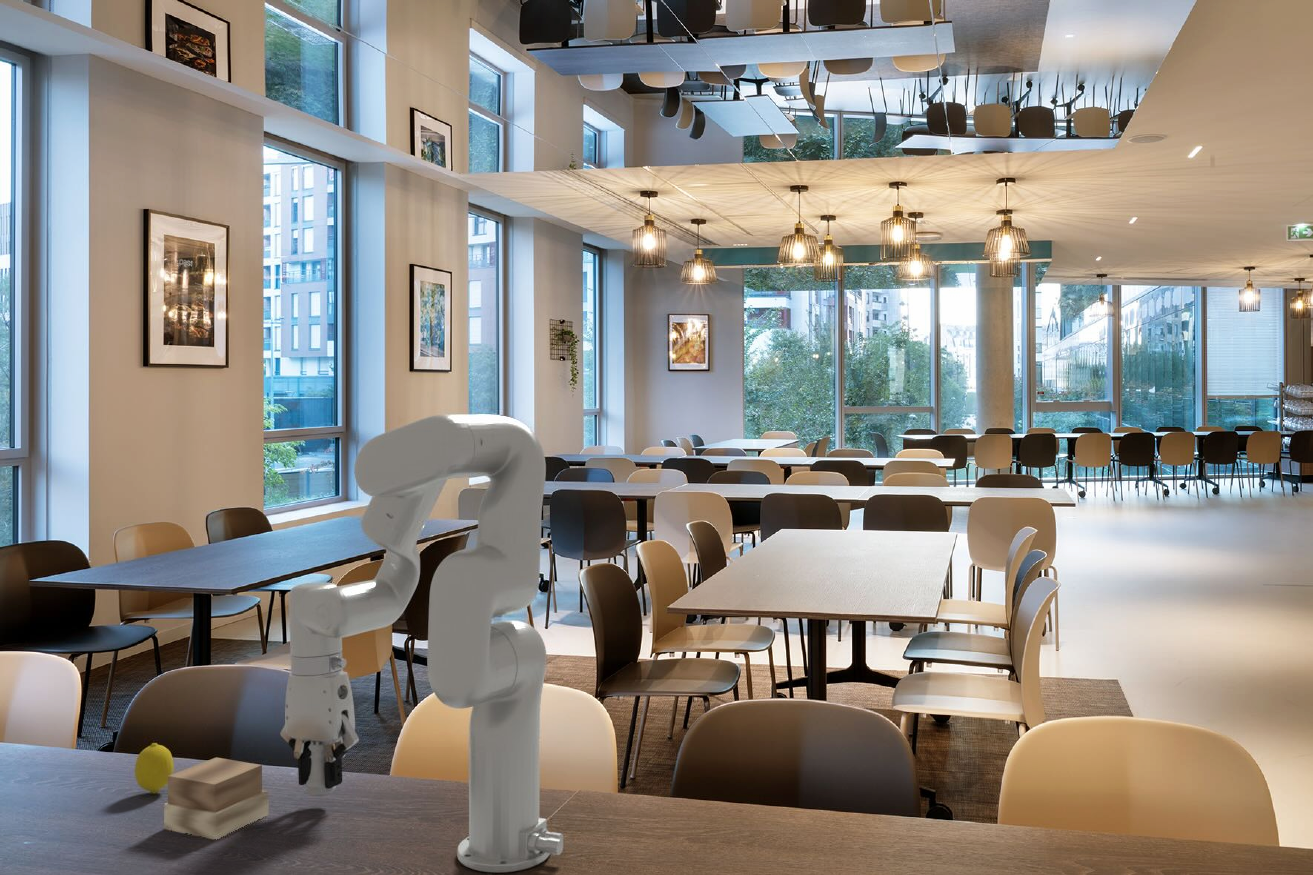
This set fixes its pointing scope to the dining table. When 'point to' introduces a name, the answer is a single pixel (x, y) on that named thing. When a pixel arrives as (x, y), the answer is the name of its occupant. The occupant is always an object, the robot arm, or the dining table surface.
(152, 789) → the lemon
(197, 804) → the tan top block
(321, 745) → the rook chess piece
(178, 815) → the beech base block
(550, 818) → the dining table surface
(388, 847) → the dining table surface
